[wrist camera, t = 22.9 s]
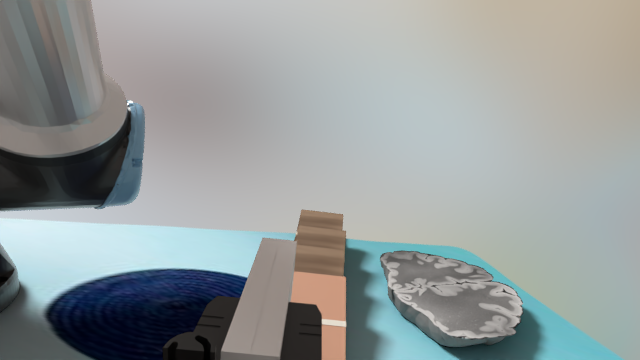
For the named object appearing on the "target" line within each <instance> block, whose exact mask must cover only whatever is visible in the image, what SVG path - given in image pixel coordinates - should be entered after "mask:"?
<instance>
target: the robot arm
mask: <svg viewBox="0 0 640 360" xmlns="http://www.w3.org/2000/svg"><path fill="white" fill-rule="evenodd" d="M144 133H145V116H144V109H143V107H142V106H141V105H139V104H137V103H133V102H132V101H129V100H126V98H125V95H124V92H123V91H122V89H121V88H120V86H119V85H118V84H117V83H116V82H115V81H114V80H113V79H112V78H111V77H109V76H108V75H107V74H105V73H104V72H103V67H102V61H101V55H100V49H99V44H98V38H97V32H96V27H95V22H94V16H93V10H92V4H91V0H0V211H21V210H44V209H65V208H66V209H67V208H92V207H94V208H95V209H102V208H105V207H108V206H119V205H126V204H129V203H131V202H133V201H134V200H135V199H136V197H137V196H138V193H139V190H140V184H141V176H142V160H143V152H144V137H145V135H144ZM296 246H297V241H290V240H281V239H271V238H262V241H261V244H260V247H259V249H258V252H257V255H256V257H255V260H254V263H253V266H252V268H251V271H250V274H249V276H248V279H247V282H246V284H245V287H244V290H243V293H242V295H241V298H234V297H224V296H217V297H216V298H215V299H213V300H212V301H211V302H210V303H208V304H207V306H206V308H205V310H204V312H203V314H202V317H201V318H200V320H199V322H198V324H197V326H196V328H195V330H194V332H186V333H183V334H180V335H177V336H175V337H174V338H172V339H171V340H169V341H168V342H167V343H166V344H165V346H164V347H163V360H322V314H321V312H320V310H319V309H318V307H317V305H315V304H305V303H295V302H291V296H292V286H293V276H294V266H295V256H296ZM18 292H19V280H18V273H17V269H16V266H15V264H14V263H13V261H12V260H11V259H10V257H9V256H8V254H7V253H6V251H5V250H4V248H3V247H2V245H1V244H0V312H1V311H3V310H4V309H5V308H6V307H7V306H8V305H9V304H10V303H11V302H12V301H13V300H14V299H15V297H16V296H17V294H18Z"/></svg>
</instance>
